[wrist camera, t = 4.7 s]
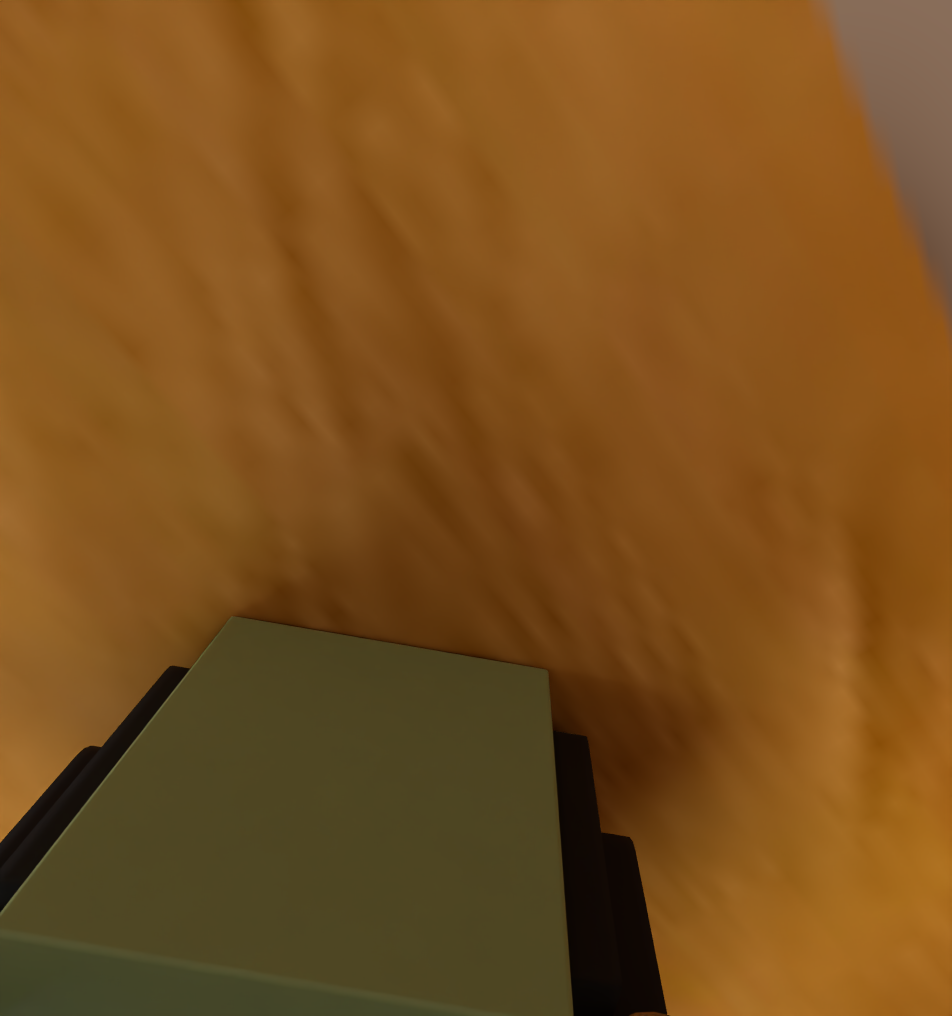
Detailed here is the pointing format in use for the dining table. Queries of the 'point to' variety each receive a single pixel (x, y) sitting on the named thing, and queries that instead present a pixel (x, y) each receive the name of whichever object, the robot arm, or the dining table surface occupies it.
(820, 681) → the dining table surface
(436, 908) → the green block
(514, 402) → the dining table surface
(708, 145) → the dining table surface
